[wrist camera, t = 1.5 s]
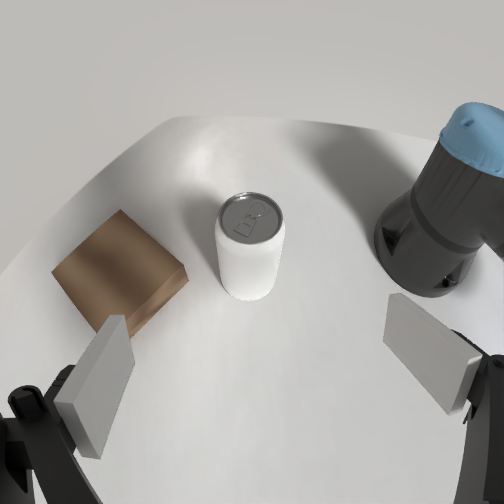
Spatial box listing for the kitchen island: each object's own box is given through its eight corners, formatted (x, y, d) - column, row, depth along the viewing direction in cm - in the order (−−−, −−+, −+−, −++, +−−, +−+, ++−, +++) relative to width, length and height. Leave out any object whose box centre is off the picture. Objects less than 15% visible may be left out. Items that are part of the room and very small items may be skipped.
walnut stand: (129, 227, 41) (120, 209, 38) (188, 280, 37) (183, 264, 34) (65, 286, 36) (51, 272, 33) (117, 351, 33) (104, 342, 29)
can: (284, 268, 39) (299, 207, 28) (258, 312, 36) (265, 261, 25) (238, 245, 40) (238, 179, 30) (210, 285, 37) (198, 227, 27)
